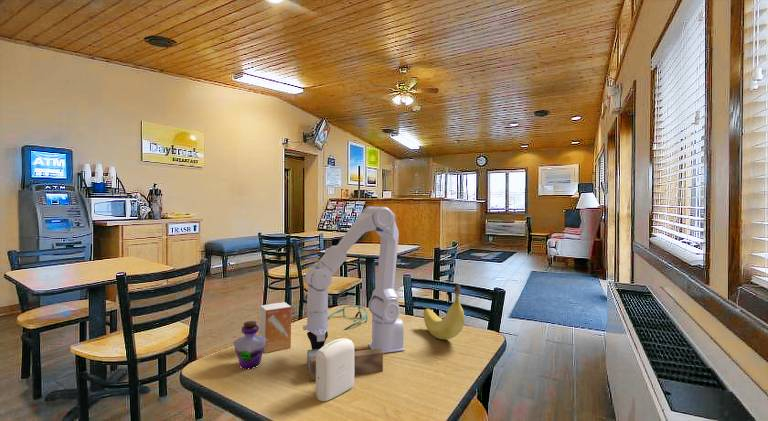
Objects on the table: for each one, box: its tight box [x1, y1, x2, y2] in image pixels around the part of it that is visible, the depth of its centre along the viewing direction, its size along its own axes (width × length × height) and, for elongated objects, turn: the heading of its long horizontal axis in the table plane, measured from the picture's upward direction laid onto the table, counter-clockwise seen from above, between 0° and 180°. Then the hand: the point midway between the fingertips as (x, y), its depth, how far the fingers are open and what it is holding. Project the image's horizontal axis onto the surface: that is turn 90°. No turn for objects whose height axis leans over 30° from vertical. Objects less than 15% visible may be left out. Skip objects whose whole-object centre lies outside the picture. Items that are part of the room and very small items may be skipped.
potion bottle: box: [233, 320, 266, 370], centre depth 104 cm, size 9×9×12 cm
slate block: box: [307, 349, 319, 373], centre depth 102 cm, size 6×7×4 cm
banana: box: [422, 284, 465, 340], centre depth 126 cm, size 23×6×20 cm, turn 22°
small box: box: [259, 301, 292, 353], centre depth 116 cm, size 8×6×13 cm
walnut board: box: [309, 349, 384, 382], centre depth 100 cm, size 19×3×5 cm, turn 108°
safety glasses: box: [328, 304, 368, 331], centre depth 141 cm, size 14×15×5 cm
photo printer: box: [315, 338, 355, 402], centre depth 90 cm, size 10×4×12 cm, turn 140°
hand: (317, 357), depth 106 cm, fingers closed
